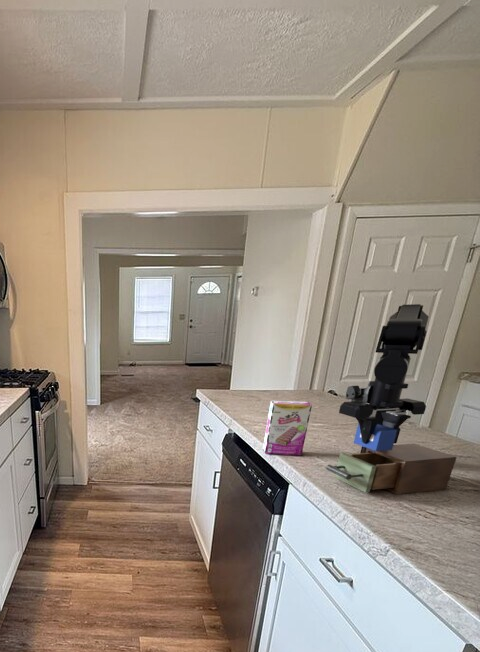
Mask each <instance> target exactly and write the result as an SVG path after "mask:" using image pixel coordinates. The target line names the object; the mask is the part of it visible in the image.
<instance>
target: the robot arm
mask: <svg viewBox="0 0 480 652" xmlns="http://www.w3.org/2000/svg"><path fill="white" fill-rule="evenodd" d="M423 308H424V304H420V303H413V304H408V303H407V304H402V305H399V306H398V309H397V311H396V312H394V313H393V314H392V315H390V316H389V319H388V320H387V323H386V325H382V326H381V327H382V328H381V329H380V335H379V338H378V341H377V345H376V348H375V353H382V355H381V356H380V357H379V360H378V362H377V363H376V365H375V366H374V370H373V373H374V377H375V378H374V380H370V381H369V382H368V384H367V387H361V388H360V385H350V386H349V385H348V386H347V388H346V391H345V399H346V400H351V401H344V402H342V403H341V404H340V405H339V410H338V413H339V414H341V415H345V416H347V417H351V418H355V419H356V421H357V422H358V423H357V424H359V426H360V431H361V437H362V442H363V443H365V444H367V443H368V441H369V439H370V438H371V436H372V433H373V431H374V429H375V427H376V425H377V424H379V425H382V426H386V427H389V428H392V429H396V430H397V433H396V437H395V441H394V444H397V442H398V440H399V437H400V432H401V428H400V426H402V425H403V424H404V423H405V422H406V421H407V420H409V419H411V417H412V415H415V416H416V415H425V413H426V408H427V405H426V403H425V402H424V401H421V400H418V399H417V400H416V399H412V398H401V395H402V392H403V389H408V388H409V383H406V382H405V381H406V377H407V374H408V370H409V366H410V362H411V359H412V358H411V356H410V355H412V354H413V355H417V354H418V353H419V351H422V350H423V347H424V344H425V341H426V337H427V332H428V331H427V330H426V328H427V324H428V322H429V315H428V314H427V313H426V312H424V310H423ZM407 411H408V412H410V413H411V415H408V414H407V413H408V412H407ZM366 449H367V448H366V447H363V446H361V449H360V452H359V453H366Z"/></svg>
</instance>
